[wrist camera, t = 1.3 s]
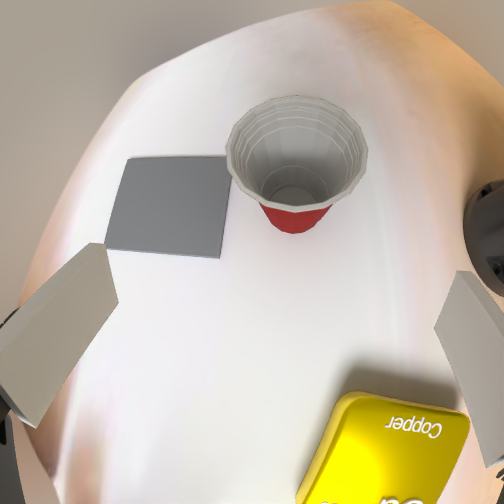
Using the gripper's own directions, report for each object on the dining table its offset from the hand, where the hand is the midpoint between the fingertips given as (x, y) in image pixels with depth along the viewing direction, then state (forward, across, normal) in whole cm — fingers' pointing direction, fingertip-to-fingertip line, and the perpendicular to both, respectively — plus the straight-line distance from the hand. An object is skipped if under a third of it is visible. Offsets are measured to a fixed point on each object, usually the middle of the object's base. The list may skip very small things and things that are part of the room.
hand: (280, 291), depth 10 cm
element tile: (+4, +13, -25) cm, 28 cm away
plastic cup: (+23, +1, -5) cm, 23 cm away
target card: (+23, -13, -5) cm, 27 cm away
